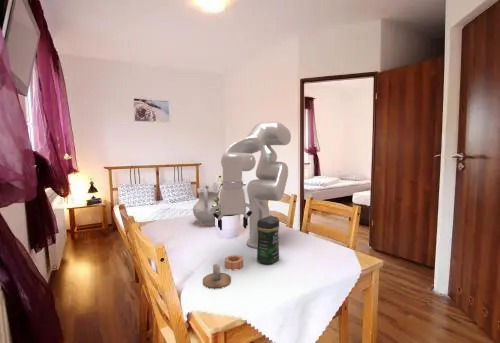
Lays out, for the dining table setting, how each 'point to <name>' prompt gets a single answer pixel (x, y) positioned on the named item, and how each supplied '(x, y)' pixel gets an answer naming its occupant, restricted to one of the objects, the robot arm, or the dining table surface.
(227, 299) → the dining table surface
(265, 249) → the coffee jar
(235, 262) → the ring
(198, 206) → the ceramic pitcher
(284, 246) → the dining table surface
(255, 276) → the dining table surface
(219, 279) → the post stand
